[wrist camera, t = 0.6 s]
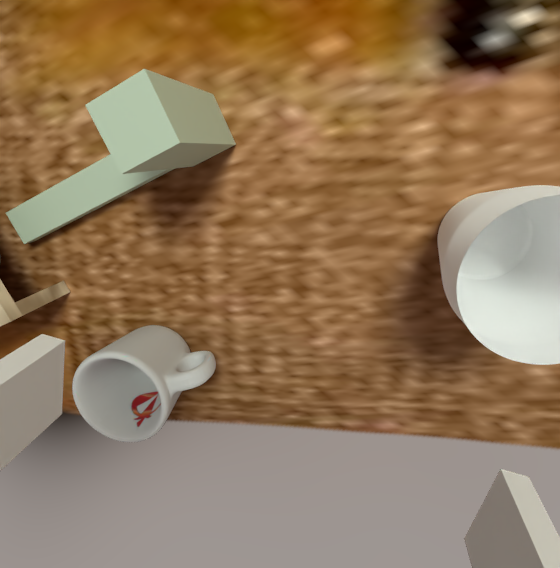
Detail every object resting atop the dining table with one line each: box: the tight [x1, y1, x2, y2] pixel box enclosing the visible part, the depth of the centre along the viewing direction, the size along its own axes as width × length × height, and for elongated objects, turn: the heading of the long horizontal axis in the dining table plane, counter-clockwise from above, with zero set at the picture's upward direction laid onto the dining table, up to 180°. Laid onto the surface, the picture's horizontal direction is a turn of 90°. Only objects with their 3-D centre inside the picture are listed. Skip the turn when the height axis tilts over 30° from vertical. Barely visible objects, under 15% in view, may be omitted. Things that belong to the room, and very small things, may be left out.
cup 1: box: [72, 325, 216, 442], centre depth 36 cm, size 11×8×8 cm
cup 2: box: [437, 185, 560, 365], centre depth 26 cm, size 9×9×12 cm
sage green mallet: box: [6, 69, 236, 244], centre depth 30 cm, size 4×21×11 cm, turn 115°
